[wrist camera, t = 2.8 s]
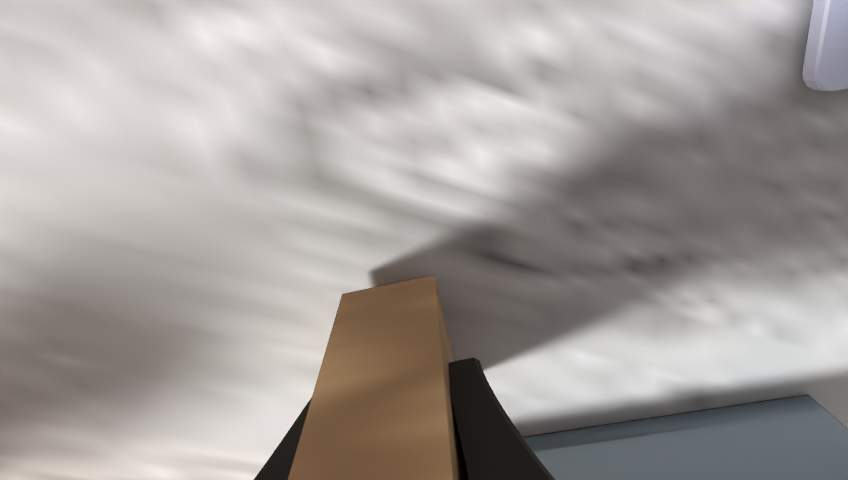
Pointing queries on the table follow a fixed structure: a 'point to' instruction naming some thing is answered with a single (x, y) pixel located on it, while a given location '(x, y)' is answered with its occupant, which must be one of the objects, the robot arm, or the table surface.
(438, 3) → the table surface
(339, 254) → the table surface
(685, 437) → the blue-grey square tray
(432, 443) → the block
